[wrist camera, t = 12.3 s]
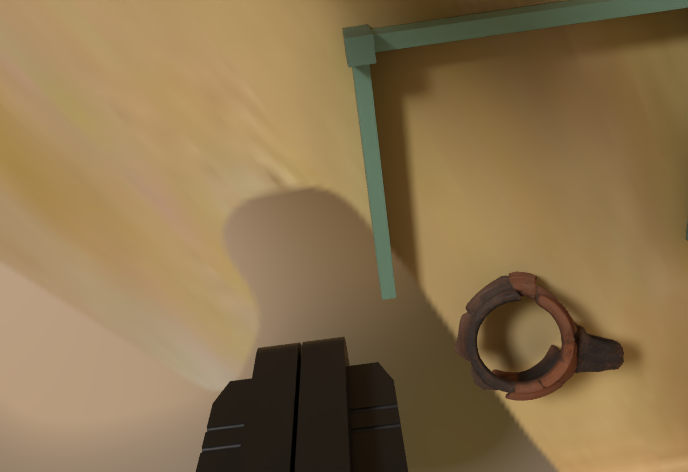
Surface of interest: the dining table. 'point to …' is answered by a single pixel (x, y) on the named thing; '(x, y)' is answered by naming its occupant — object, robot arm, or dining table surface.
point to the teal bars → (362, 42)
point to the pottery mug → (556, 365)
